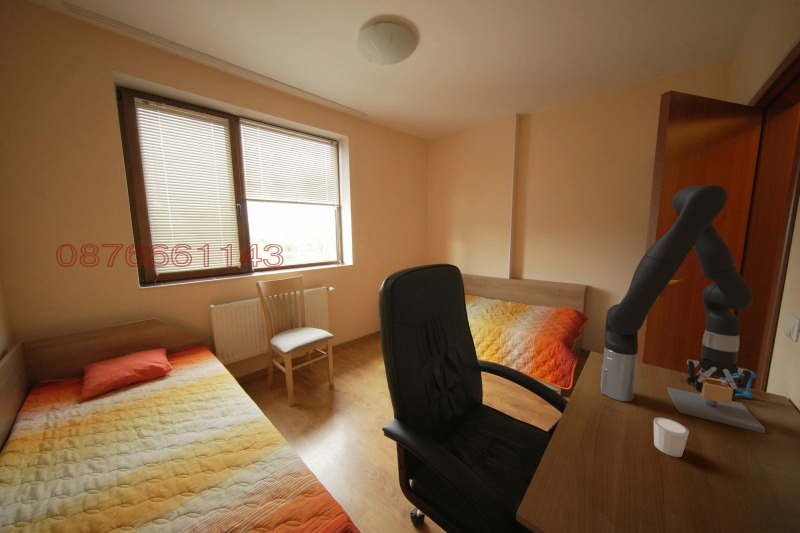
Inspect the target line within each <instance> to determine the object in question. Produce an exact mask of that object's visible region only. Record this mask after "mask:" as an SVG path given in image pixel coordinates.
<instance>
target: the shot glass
mask: <svg viewBox="0 0 800 533" xmlns="http://www.w3.org/2000/svg"><path fill="white" fill-rule="evenodd" d="M689 434H690V431H689V429H688V428H687V427H686V426H684V425H683V424H681V423H679V422H677V421H675V420H673V419H671V418H666V417H655V418H654V419H653V444H654V447H655V448H656V449H657V450H659V451H660V452H662V453H664V454H665V455H668V456H671V457H674V458H681V457H683V453H684V450H685V447H686V445H687V441H688V438H689V437H688V436H689Z"/></svg>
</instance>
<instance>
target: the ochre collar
mask: <svg viewBox="0 0 800 533" xmlns="http://www.w3.org/2000/svg"><path fill="white" fill-rule="evenodd" d="M718 379H719V378H712V377H708V378H706V379H705V380H704V381H703V386H702V393H700V392H698V394H701V396H702V397H703V399H708V400H713V401H717V402H722V403H726V404H731V402H732V401H733V398H732V395H733V389H732V388H731V387H730V386H729V385H728V384H727V382H726V381H724V380H718Z"/></svg>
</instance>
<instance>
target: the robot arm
mask: <svg viewBox="0 0 800 533" xmlns="http://www.w3.org/2000/svg"><path fill="white" fill-rule="evenodd" d="M727 201H728V193H727V190H726V189H725V188H724V187H723V186H720V185H717V184H716V185H715V184H704V185H703V184H701V185H700V184H699V185H693V186H687V187H684V188H682V189H680V190H678V192H676V193H675V195H674V196H673V198H672V201H671V202H672V208H673V211H674V212H675V214H676V216H677V219H675V222H674V224H673V225H672V226H671V227H670V229H669V230H668V231H667V232H666V233H665V234H664V235H663V236H661V237H660V238H659V239H658V240H657V241H655V242H654V243H653V244H652V245H651V246H650V247H649V248H648V249H647V250H646V252H645V253H644V255H643V256H642V257H641V260H639V263H638V265H636V266H637V267H636V269H635V271H634V274H633V276H632V278H631V281H630V285H629V288H628V289H627V291H626V294H625V295H624V297H623V298H622V300H621V301H620V302H619V303H616V304H614V305H612V306H610V307H609V308H608V310H607V312H606V317H605V330H604V348H603V349H604V350H603V362H602V364H601V374H600V375H601V376H600V385H599V386H600V392H601V395H605V396H607V397H609V398H610V399H613V400H615V401H621V402H631V401H633V399H634V395H635V394H634V391H635V382H636V372H637V361H638V352H639V343H638V342H639V340H638V339H639V338H638V337H639V336H638V335H639V334H638V333H639V331H640V330H641V328H642V327H643V325H644V323H645V321H646V318H647V316H648V315H649V313H650V311H651V308H652V306H653V304H654V303H656V302H655V301H656V300H657V299H658V298H659V297H660V295H662V293H663V292H664V290H665V289H666V288H667V286H668V285H669V283H670V282H671V281H672V279H673V278H674V276H675V275H676V274H677V272H678V271H679V269H680V267H681V266H682V265H683V263H684V260H685V259H686V258H687V256H688V255H689V254H690V252H691V251H692V249H694V251H695V255H696V258H697V260H698V263H699V266H700V270H701V273H702V275H703V277H704V278H705V279H706V280H709V281H711V282H712V283H709V284H707V286H705V288H704V289H703V291H702V294H701V295H702V296H701V298H702V299H701V300H702V304H703V309H704V312H705V316H706V322H705V330H704V333H703V336H702V341H701V342H702V345H701V351H700V352H701V353H700V358H699V359H698V360H695V359H694V360H693V359H691V358H687V359H686V371H687V375H688V376H689V378H690V379H692V380H694V389H695V390H696V391H697V393H699V392H700V393H702V386H703V381H704V380H705V379H706V378H710V376H711V377H712V376H713V377H719V378H720V377H722V378H725V379H726V381H727V382H728V385H729V386H730V387H731V388H732V389H733V395H732V399H734V398H735V397H736V396H735V394H736V392H737V391H736V389H737V388H740V389H742V390H745V389H747V384H748V382H749V379H750V377H751V374H752V373H751V372H750V371H751V370H749V369H748V368H746V367H743V368H742V367H738V366H737V363H738V357H739V349H740V334H741V333H740V331H741V324H742V321H741V319H740V317H739V316H736V315H735V314H733V313H732V312H731V310H730V309H732V310H744V309H747V308H749V307H750V306H751V304H752V303H753V301H754V295H753V291H752V289H751V288H750V286H749V285H748V283H747V282H746V280H745V279H744V278H743V276H742V275H741V274H740V273H739V271H738V270H737V265H736V263H735V260H734V257H733V253H732V250H731V249H730V247H729V245H728V244H727V243H726V242H725V240H724V239H723V237H722V236H721V235H720V234H719V232H718V231H717V229H716V227H715V226H714V224H713V221H714V220H715V219H716V218H717V217H718V215H719V214H720V213H721V212H722V211H723V209H724V208H725V206H726V204H727V203H728V202H727ZM698 365H699V366H700V367H701V368H700V370H698V372H697V373H696V372H695V371H696V370H695V368H697V367H698ZM733 373H739V374H740V375H739V378H737V381H735V380H734V379H733V378H732V376H731V375H732V374H733ZM700 393H699V394H700Z"/></svg>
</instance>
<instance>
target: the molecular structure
mask: <svg viewBox="0 0 800 533" xmlns="http://www.w3.org/2000/svg"><path fill="white" fill-rule="evenodd" d="M749 371H750V372H751V373H752V374H751V377H750V379H749V382H748V384H747V387H746V388H745V389H746V390H744V389H742V388H737V389H736V392H738V393H735V397H744V398H745V397H746V398H745V399H748V398H749V399H752V398H753V397H754V396H753V394H752V393H751V392H750V391H751V387H752V386H751V385H752V379H755V378H756V377H757V374H756V373H755V372H754V371H751V370H749ZM739 375H740V374H739V373H738V372H735V373H733V374H732V375H731V376H732V378H733V380H734V379H738V378H739ZM717 379H718V380H724V381H726V379H725V378H722V377H719V378H717ZM726 382H727V381H726ZM727 384H728V382H727ZM747 388H748V389H747Z"/></svg>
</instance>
